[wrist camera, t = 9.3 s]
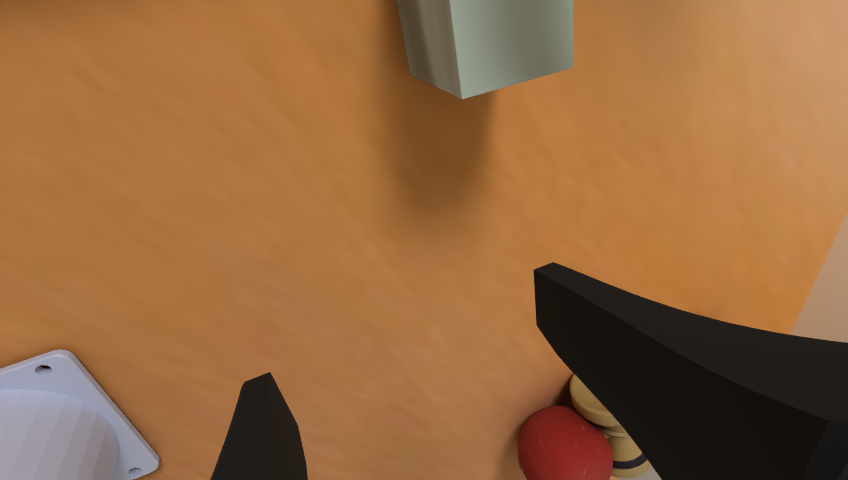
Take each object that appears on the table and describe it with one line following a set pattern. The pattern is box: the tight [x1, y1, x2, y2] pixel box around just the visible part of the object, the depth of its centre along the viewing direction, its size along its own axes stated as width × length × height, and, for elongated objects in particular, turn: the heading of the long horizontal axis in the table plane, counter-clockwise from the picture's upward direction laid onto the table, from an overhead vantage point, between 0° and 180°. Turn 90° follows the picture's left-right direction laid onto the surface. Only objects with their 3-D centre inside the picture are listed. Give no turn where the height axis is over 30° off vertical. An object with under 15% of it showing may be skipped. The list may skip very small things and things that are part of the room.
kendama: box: [518, 374, 651, 480], centre depth 31 cm, size 8×6×18 cm
